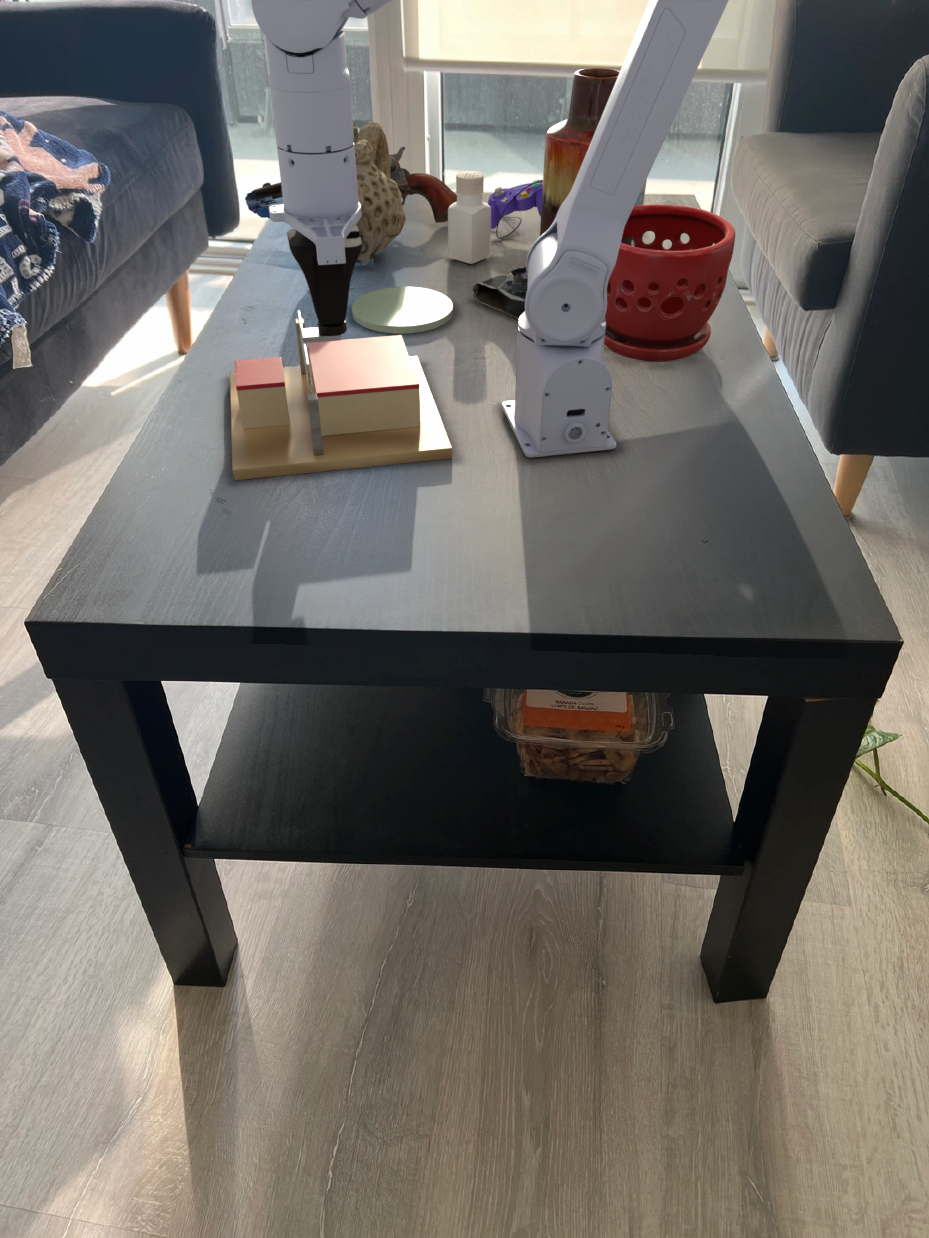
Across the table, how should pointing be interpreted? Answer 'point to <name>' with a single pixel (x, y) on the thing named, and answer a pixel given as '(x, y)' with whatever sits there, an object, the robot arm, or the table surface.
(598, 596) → the table surface
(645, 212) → the flower pot
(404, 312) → the plate
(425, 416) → the board
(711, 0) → the robot arm
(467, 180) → the pepper shaker
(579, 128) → the vase
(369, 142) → the teapot
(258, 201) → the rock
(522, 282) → the camera
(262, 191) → the revolver
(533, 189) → the game controller
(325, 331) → the blade
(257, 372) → the cake slice
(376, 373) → the red and beige block
